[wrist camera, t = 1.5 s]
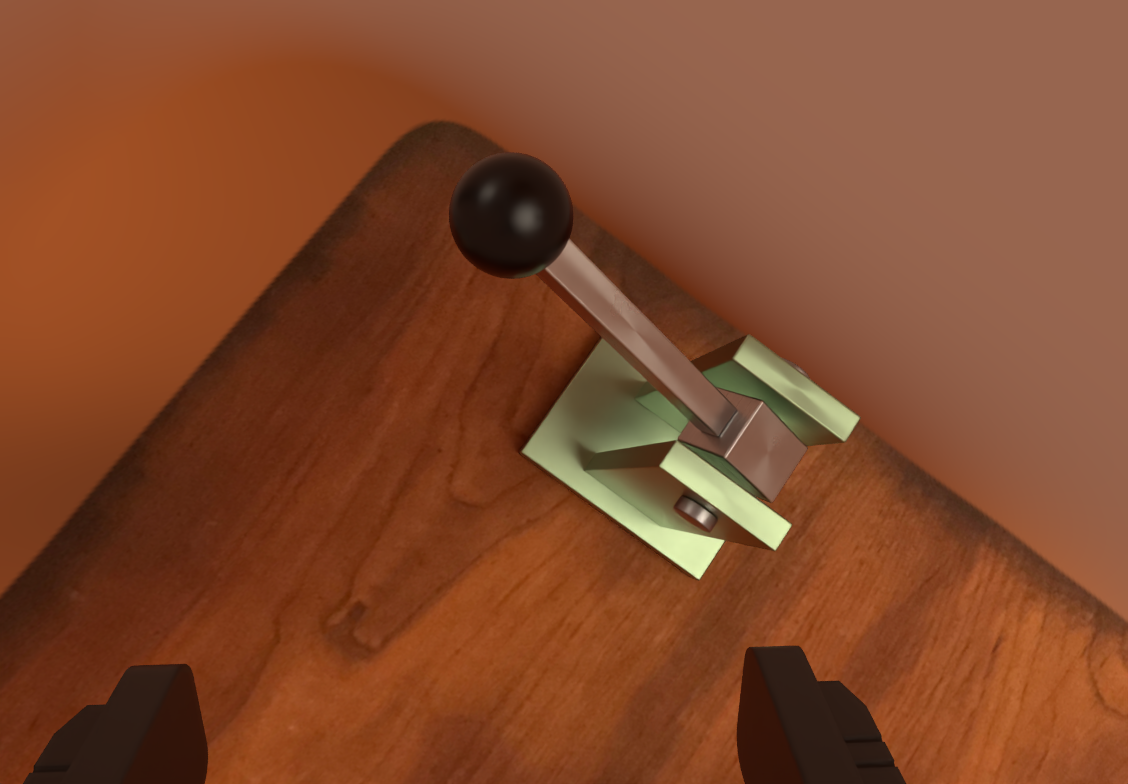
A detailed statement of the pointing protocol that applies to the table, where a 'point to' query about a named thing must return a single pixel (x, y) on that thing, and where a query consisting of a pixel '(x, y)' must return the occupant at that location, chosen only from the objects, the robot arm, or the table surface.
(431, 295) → the table surface
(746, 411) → the switch lever
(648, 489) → the switch bracket
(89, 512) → the table surface
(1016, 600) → the table surface
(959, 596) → the table surface
